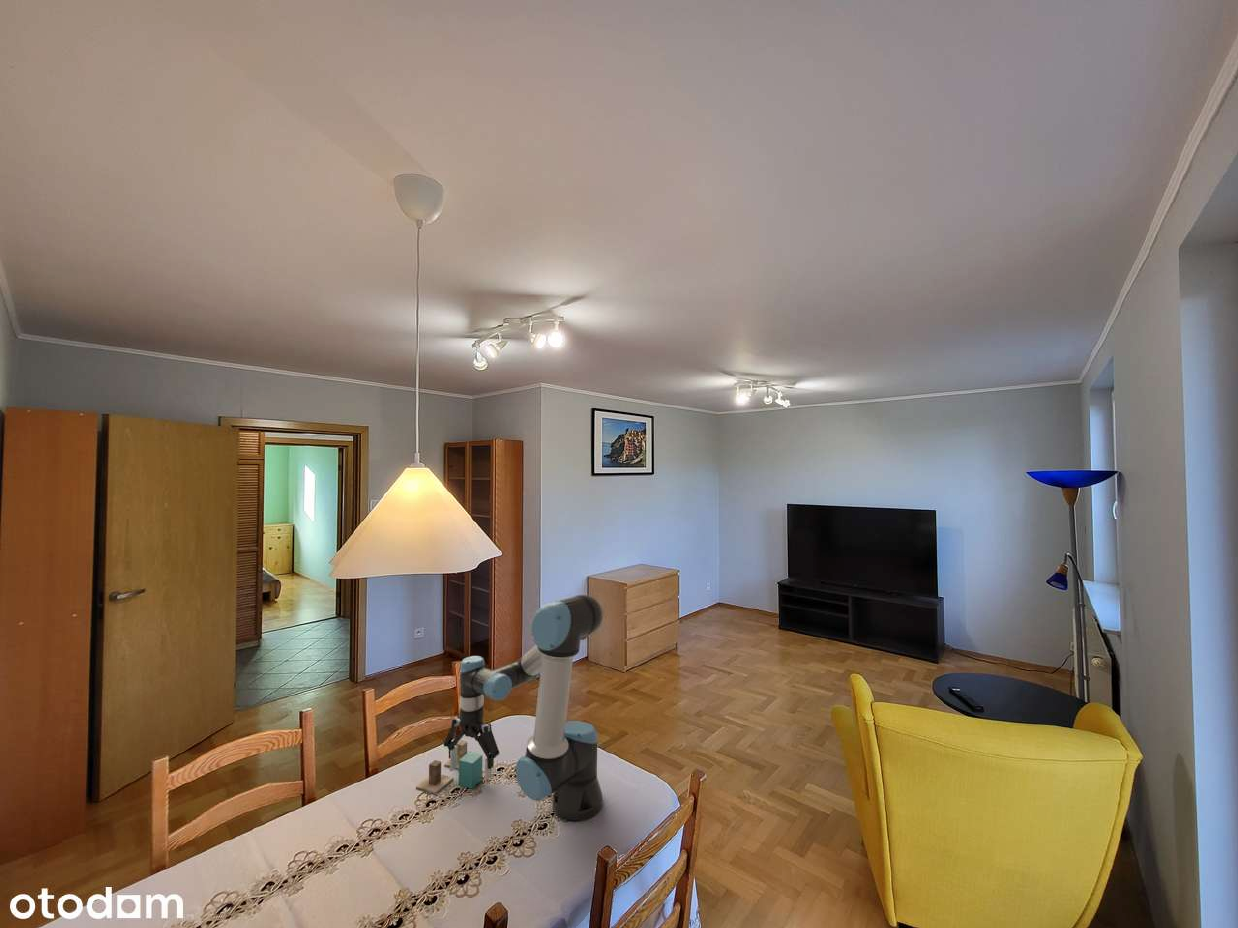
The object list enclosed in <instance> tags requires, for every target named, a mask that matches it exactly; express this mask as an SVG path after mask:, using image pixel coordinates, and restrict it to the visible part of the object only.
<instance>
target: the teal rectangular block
mask: <svg viewBox="0 0 1238 928" xmlns="http://www.w3.org/2000/svg"><path fill="white" fill-rule="evenodd" d="M482 780H483V754H480V753H476V752H472V751H467V754H466V755H465V756H463V757H462V758H461V759H460V760H459V770H458V785H459V786H461V787H465V788H469V789H474V787H476V785H478V784H479V783H480V782H481V781H482Z"/></svg>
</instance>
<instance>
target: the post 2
mask: <svg viewBox="0 0 1238 928" xmlns="http://www.w3.org/2000/svg"><path fill="white" fill-rule="evenodd" d="M456 746H457V747H458V757H457V767H456V768H455V769H454V770H458V771H459V760H460V759H461V758H462V757H463V756H465V755H466V754H467V753H468V741H466V740H462V739H460V741H459V742H458V743H457V745H455V747H456ZM443 764H444V765H443V766H444V767H446V768H450V759H449V760H448V761H447V762H446V763H443Z"/></svg>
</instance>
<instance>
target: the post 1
mask: <svg viewBox="0 0 1238 928" xmlns="http://www.w3.org/2000/svg"><path fill="white" fill-rule="evenodd" d="M453 780H454V777H453V776H448V775H444V774H442V761H440V760H436V759H434V760H433V761H432V762H430V763H429V764H428V776H427V777H426V778H425V779H424V780H422V781H421V782H420V783H418V784H417V785H416V786H415V789H417V790H420V791H422V792H423V791H424V792H427V793H429V794H433V795H437V794H438V793H439V792H441V791H442V790H443V789H444V788H445V787H447V786H448V785H449V784H450V783H451V782H453Z"/></svg>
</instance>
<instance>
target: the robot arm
mask: <svg viewBox="0 0 1238 928" xmlns="http://www.w3.org/2000/svg"><path fill="white" fill-rule="evenodd" d="M602 608H603V607H602V606H601V604H600V602H599V601H597V599H596V598H594V597H592V596H590V595H587V594H579V595H574V596H572V597H568V598H564V599H560V600H554V601H550V602H549V603H547V604H544V605H541V607H539V608H538V609H537V610H536V611H535V613H534V615H533V617H532V619H531V625H530V633H531V636H532V637H533V639H532V641H533V642H534V644H535V645H533V647H531V649H529V650H528V651H527V652H526V653H525V654H524V655H523V656H521V658H519V659H518V660H517V661H514V662H512V663H510V664H506V665H504V666H501V667H498V668H496V669H491V668H488V667H485V665H486V664H485V658H484V657H482V656H480V655H471V656H468V657H465V658H463V659H462V660H461V663H460V671H459V716H457V717H455V718H454V719H451V727H450V729H449V731H448V733H447V734H446V735H447V736H446V738H445V739H444V742H443V744H442V745H443V747H446V748H447V749H448V759H449V760H450V767H449V771H450V772H453V771H454V770H456V769H455V768H456V767H457V757H458V747H457V746H456V745H457V743H458V742H460V741H461V740H462V739H463V737H464V736H465V737H470V738H471V739H472V738H473V739H474V740H475V741H476V742H477V744H478V745H479V747H480V748H481V750H482V752H483V753H484V755H485V758H484V781H488V780H489V779H490V778H491V777H492V774H493V773H492V769H493V767H494V764H495V763H494V762H495V758H496V757H497V756H499V755H500V750H499V747H498V745H497V742H496V739H495V736H494V733H493V730H492V729H493V728H492V723H488V724H484V722H483V720H484V714H485V713H484V712H485V711H484V710H485V708H484V703H485V701H484V700H485V699H484V698H485V697H487V698H488V699H490V700H495V701H502V700H504V699H506V698H507V697H508V696H509V694H510V693H511V690H514V689H515V688H518V687H520V686H522V685H524V684H525V685H526V684H527V683H531V682H533V681H534V680H536V679H537V678H539V680H538V681H539V683H538V690H537V691H538V692H537V701H536V708H535V709H536V710H535V711H536V712H535V719H534V726H533V727H534V728H533V734H532V735H531V736H530V737H528V740H527V743H526V749H525V750H526V751H525V755H524V756H521V757H520V758H519V759H518V760H517V762H516V765H515V776H516V781H517V782H518V786H519V788H520V789H521V790H522V792H523V794H524V795H525V796H526V797H527V798H528V799H531V800H532V801H535V802H539V801H542V800H544V799H546V798H548V797H550V796H551V795H552V801H551V803H552V811H553V812H554V813H555V815H556V816H558V817H559V818H561V819H563V820H565V821H570V822H582V821H586V820H589V819H591V818H593V817H595V816H596V815H597V814H598V813H600V811H601V810H602V808H603V792H602V789H601V785H600V783H599V779H598V742H599V740H598V734H597V733H598V732H597V729H596V728H595V727H594V726H593V724H590V723H589V722H584V721H579V720H571V721H567V714H568V705H569V697H570V688H571V687H570V686H571V679H572V678H571V677H572V669H573V661H574V658H575V657H576V656H577V655H578V654H579V652H580V647H581V641H584V640H586V639H587V638H588V637H590V636H591V635H592V634H594V633H595V632H597V630H598V629H599V628H600V627H601V625H602V623H603V617H604V613H603V609H602ZM458 727H460V729H461V730H460V731H459V732H458V733H457V730H458ZM456 733H457V735H456ZM455 735H456V736H455Z"/></svg>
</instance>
